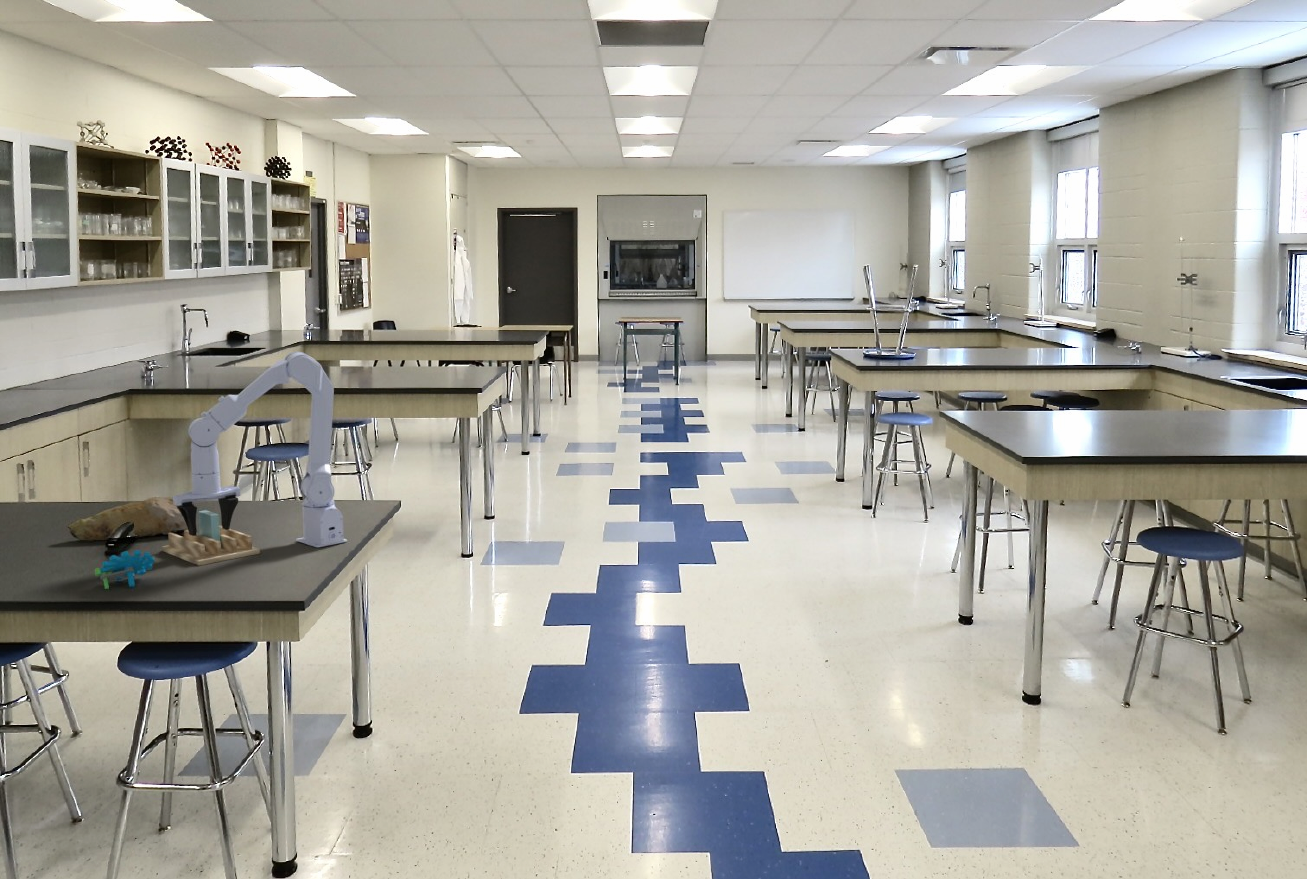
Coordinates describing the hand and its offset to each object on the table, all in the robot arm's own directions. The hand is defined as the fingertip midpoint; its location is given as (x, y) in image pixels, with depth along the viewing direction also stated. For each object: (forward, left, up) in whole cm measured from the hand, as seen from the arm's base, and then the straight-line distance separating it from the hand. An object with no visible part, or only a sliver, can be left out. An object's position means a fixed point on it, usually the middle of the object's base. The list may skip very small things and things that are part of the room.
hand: (209, 532), depth 251 cm
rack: (0, 0, -5) cm, 5 cm away
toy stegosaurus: (-12, +23, -5) cm, 26 cm away
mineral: (+27, +6, -5) cm, 28 cm away
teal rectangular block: (0, 0, -4) cm, 4 cm away
